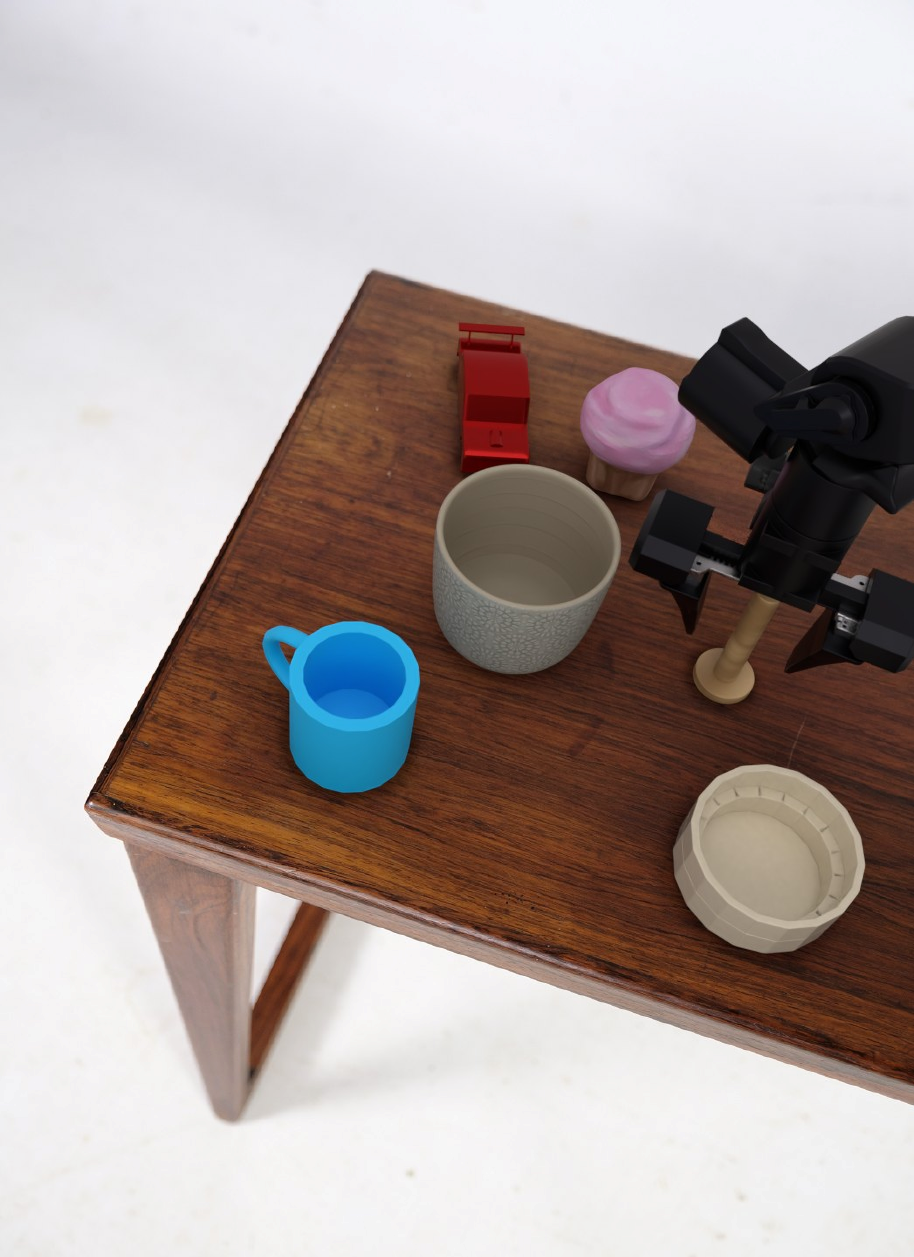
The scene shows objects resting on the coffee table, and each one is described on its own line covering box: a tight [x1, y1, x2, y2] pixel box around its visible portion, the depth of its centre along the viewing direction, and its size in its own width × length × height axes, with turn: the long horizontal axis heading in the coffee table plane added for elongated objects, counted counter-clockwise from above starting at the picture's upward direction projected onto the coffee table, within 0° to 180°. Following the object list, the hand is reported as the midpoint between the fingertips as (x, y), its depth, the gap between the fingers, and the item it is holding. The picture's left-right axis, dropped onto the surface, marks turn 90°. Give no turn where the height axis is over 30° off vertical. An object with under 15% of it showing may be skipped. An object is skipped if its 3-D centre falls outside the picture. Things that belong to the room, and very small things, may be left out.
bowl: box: [672, 763, 866, 954], centre depth 77 cm, size 11×11×5 cm
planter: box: [432, 464, 622, 675], centre depth 83 cm, size 12×12×11 cm
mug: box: [262, 620, 421, 794], centre depth 78 cm, size 12×8×8 cm
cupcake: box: [579, 366, 697, 502], centre depth 93 cm, size 9×9×10 cm
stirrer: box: [692, 591, 781, 705], centre depth 83 cm, size 4×4×11 cm
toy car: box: [456, 321, 531, 474], centre depth 98 cm, size 14×6×5 cm, turn 1°
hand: (738, 648), depth 84 cm, fingers open, 7 cm apart
